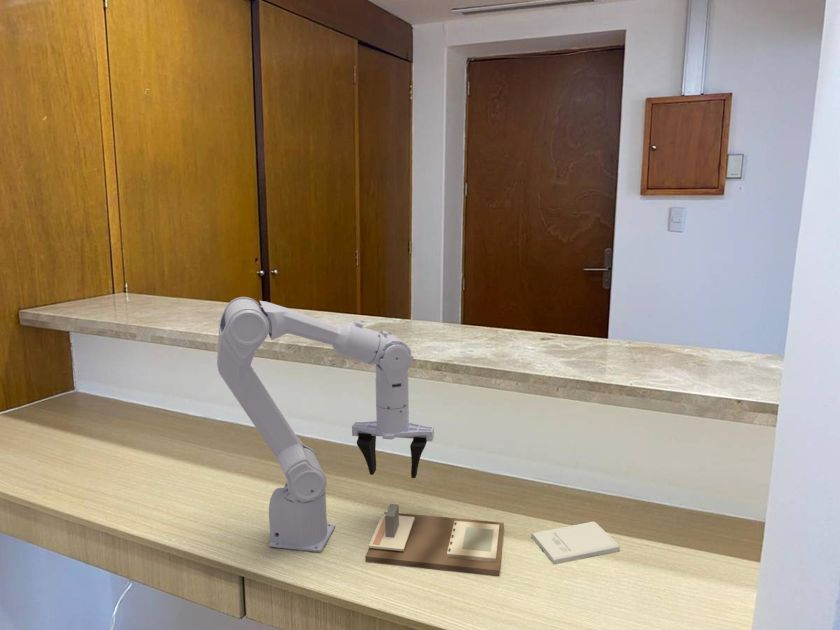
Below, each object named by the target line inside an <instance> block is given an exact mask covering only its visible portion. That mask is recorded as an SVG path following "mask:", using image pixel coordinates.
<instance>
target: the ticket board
mask: <svg viewBox="0 0 840 630" xmlns="http://www.w3.org/2000/svg"><path fill="white" fill-rule="evenodd" d="M386 513H387V511H383V514H386ZM399 516H409V517H415V519H414V522H413V525H412V528H411V531H410V534H409V537H408V540H407V543H406V546H405V548H404V551H395V550H386V549H376V548H369V547H368V550H367V551H366V554H365V556H364V557H365V560H364V562H366V563H375V564H383V565H393V566H401V567H411V568H412V567H413V568H419V569H420V568H422V569H430V570H439V571H440V570H441V571H449V572H460V573H467V574H468V573H469V574H480V575H487V576H488V575H489V576H496V577H499V576H500V573H501V572H500V571H501V561H502V549H503V540H504V539H503V537H504V526H505V523H504V522H500V521H491V520H490V521H488V520H479V519H467V518H456V517H446V516H438V515H437V516H435V515H423V514H414V513H402V512H399Z"/></svg>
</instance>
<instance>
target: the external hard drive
mask: <svg viewBox="0 0 840 630" xmlns="http://www.w3.org/2000/svg"><path fill="white" fill-rule="evenodd" d="M530 536H531V538H532V540H533V541H534V542H535V544H536V545H537V546H538V547H539V548H540V549H542V551H543V553H544V555H545V556H546V557H547V558H548V559H549V561H550V562H551V564H553V565H556V564H562V563H566V562H571V561H576V560H581V559H582V560H583V559H586V558H592V557H596V556H602V555H605V554H612V553H616V552H619V551H620V545H619V543H618V542H616V541H615V540H614V539H613V538H612V536H610V535H609V534H608V533H607V532H606V531H605V530H604V529H603V528H602V526H600V525H599V524H598V523H597V522H595V521H589V522H588V521H587V522H584V523H578V524H573V525H568V526H562V527H557V528H552V529H551V528H550V529H547V530H542V531H536V532H531V533H530Z"/></svg>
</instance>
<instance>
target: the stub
mask: <svg viewBox="0 0 840 630" xmlns="http://www.w3.org/2000/svg"><path fill="white" fill-rule="evenodd" d="M399 505H400V504H398V503H397V504H396V503H389V506H388V508H387V511H386V512H387V513H386V514H384V513H382V515H381V516H380V519H379V520H378V523H377V526H376V528H375V530H374V532H373V534H372V537H371V539H370V541H369V544H368V549H369V548H376V549H386V550H395V551H404V548H405V546H406V543H407V540H408V537H409V534H410V531H411V528H412V525H413V522H414V519H415V517H409V516H399V513H400V508H399V507H400V506H399Z"/></svg>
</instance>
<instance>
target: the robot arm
mask: <svg viewBox="0 0 840 630" xmlns="http://www.w3.org/2000/svg"><path fill="white" fill-rule="evenodd" d="M287 334H289V335H293V336H296V337H301V338H303V339H304V338H305V339H309V340H312V341H315V342H320V343H324V344H327V345H331V346H332V349H333V351H334V353H335V354H336V355H338V356H341V357H344V358H348V359H350V360H353V361H357V362H360V363H364V364H368V365H373V366H374V365H375V410H376V420H374V421H373V420H371V421H354V423H353V424H352V425H351V436H352V437H357V440H356V445H357V447H358V448H359V450H360V452H361V453H362V455H363V458H364V460H365V462H366V464H367V468H368V471H369V475H370V476H371V475H372V476H373V475H374V474H375V473H376V470H377V457H376V445H377V437H382V439H383V440H394V439H395V438H398V439H399V438H400V439H401V438H402V439H412V441H411V443H410V446H409V449H410V455H411V456H410V458H411V465H410V467H411V468H410V469H411V471H410V476H411V479H416V477H417V475H418V469H419V464H420V460H421V455H422V453H423V452H424V450H425V447H426V445H427V442H433V440H434V437H435V431H434V428H435V427H434V426H426V425H422V424H418V423H413V422H409V418H410V417H409V416H410V415H409V414H410V413H409V369H410V368H411V366H412V364H413V363H414V362H413V361H414V356H413V354H412V351H411V349H410V346H408V345H407V344H406V343H405V342H404V341H403V340H402V339H400V337H398V336H396V335H395V334H392V333H391V332H387V331H384V330H381V331H380V332H379V331H376V330H373V329H370V328H367V327H364V324H363V323H362V322H361V321H358V320H354V321H353V323H351V322H350V321H349V322H348V321H345V322H344V323H341V324H338V325H335V324H332V323H328V322H326V321H323V320H320V319H319V318H316V317H312V316H309V315H307V314H305V313H301V312H298V311H296V310H293V309H290V308H288V307H286V306H282V305H278V304H275V303H272V302H269V301H263V300H259V302H258V301H257V300H255V299H254V298H251V297H248V296H240V297H237V298H233V299H232V300H230V301H229V303H227V305H226V306H225V308H224V310H223V311H222V315H221V317H220V319H219V322H218V340H217V343H218V344H217V356H216V357H217V358H216V364H217V370H218V374H219V375H220V377H221V378H222V380H223V381H224V382H225V384H226V386H227V387H228V389H229V390H230V392H231V393H232V395H233V396H234V397H235V399H236V400H237V402H238V403H239V404H240V406H241V408H242V409H243V411H244V412H245V414H246V415H247V417H248V418H249V419H250V422H251V423H252V424H253V426H254V427H255V428H256V429H257V432H258V433H259V434H260V436H261V438H262V439H263V440H264V442H265V443H266V445H267V446H268V448H269V449H270V451H271V452H272V454H273V455H274V457H275V459H276V460H277V463H278V464H279V467H280V468H281V470H282V472H283V474H284V476H285V479H286V482H285V484H284V487H277V488H275V489H274V490H273V492H272V494H271V495H270V496H271V497H270V498H269V499H270V500H269V505H268V521H269V522H268V523H269V534H270V535H269V536H270V537H269V538H270V541H269V543H268V547H270V548H277V549H278V548H279V549H289V550H298V551H299V550H300V551H308V552H315V553H316V552H317V553H319V552H322V551H324V550H323V549H324V547H326V545H327V542H328V541H329V539H330V537H331V535H332V533H333V531H334V529H335V528H336V525H335V524H334V523H328V518H327V517H328V516H327V496H326V495H327V494H326V487H327V484H328V483H327V476H326V474H325V473H324V471H323V470H322V467H321V466H320V463H319V461H318V457H317V454H316V452H315V450H314V449H313V448H311V447H310V446H308V445H305V444H304V443H303V442H302V441H301V439H300V437H299V436H298V435H296V433H295V432H294V430H293V428H292V427H291V425H290V424H289V423H288V421H287V420H286V418H285V416H284V415H283V413H282V412H281V410H280V409H279V407H278V406H277V404H276V403H275V401H274V400H273V398H272V396H271V395H270V393H269V392H268V390H267V389H266V387H265V385H264V384H263V382H262V381H261V380H260V378H259V376H258V375H257V373H256V371H255V370H254V368H253V367H252V365H251V364H252V362H253V359H254V356H255V353H256V351H257V350H258V349H259V348H260V347H261V345H263V343H264V342H265V341H266V339H267V337H268V335H269V337H270V340H271V341H273V340H276V339H278V338H281V337H282V336H284V335H287Z"/></svg>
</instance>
